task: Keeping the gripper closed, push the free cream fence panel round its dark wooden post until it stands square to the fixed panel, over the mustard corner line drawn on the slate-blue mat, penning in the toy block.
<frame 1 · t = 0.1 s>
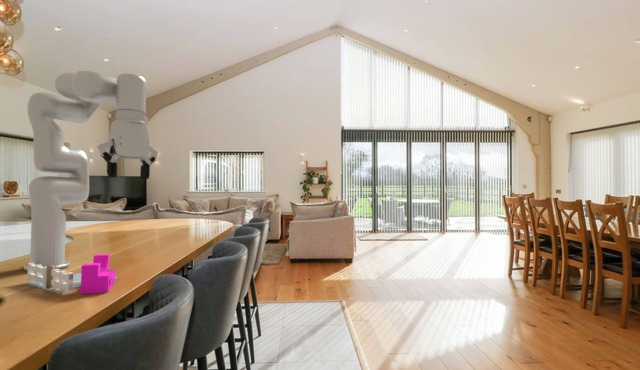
hand: (129, 178, 100), 31 cm above the kitchen island, tool pointing down, fingers open, 9 cm apart
swing panel: (38, 273, 100), point 3 cm above the kitchen island, hinge at 0.0°
toy block: (100, 286, 100), on the kitchen island, touching layout mat
fixed panel and post: (50, 288, 97), on the kitchen island
layout mat: (74, 281, 105), on the kitchen island
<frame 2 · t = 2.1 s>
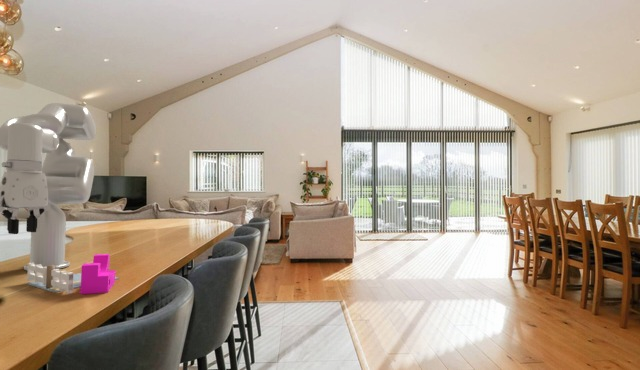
hand: (22, 232, 99), 15 cm above the kitchen island, tool pointing down, fingers open, 3 cm apart
nothing on the kitchen island moved.
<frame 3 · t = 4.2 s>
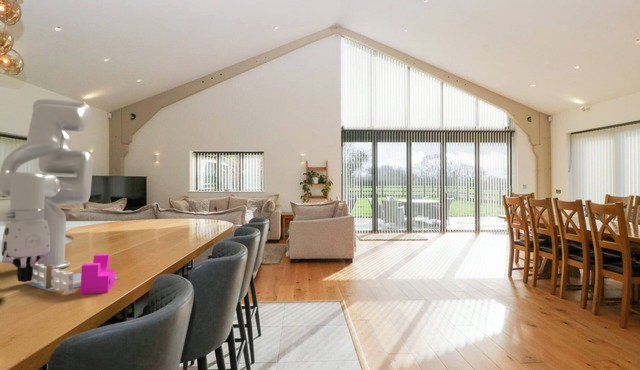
hand: (24, 280, 99), 1 cm above the kitchen island, tool pointing down, fingers closed
swing panel: (40, 273, 101), point 3 cm above the kitchen island, hinge at -4.8°, touching gripper
everything else where it was.
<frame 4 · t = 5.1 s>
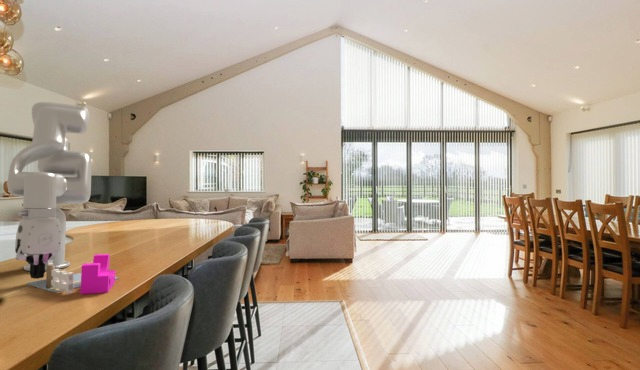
hand: (37, 277, 102), 2 cm above the kitchen island, tool pointing down, fingers closed
swing panel: (50, 272, 102), point 3 cm above the kitchen island, hinge at -22.9°, touching gripper
everything else where it was.
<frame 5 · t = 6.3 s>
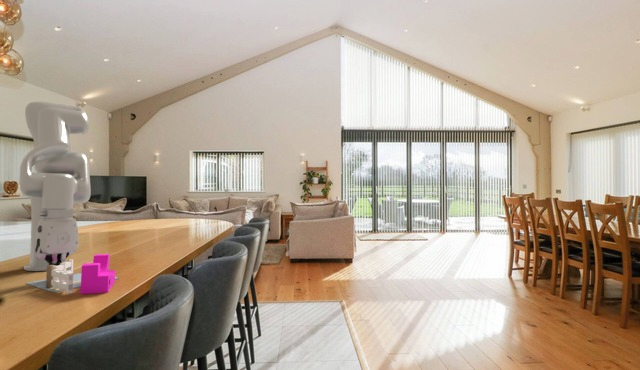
hand: (55, 275, 105), 2 cm above the kitchen island, tool pointing down, fingers closed
swing panel: (62, 271, 104), point 3 cm above the kitchen island, hinge at -48.2°, touching gripper
everything else where it was.
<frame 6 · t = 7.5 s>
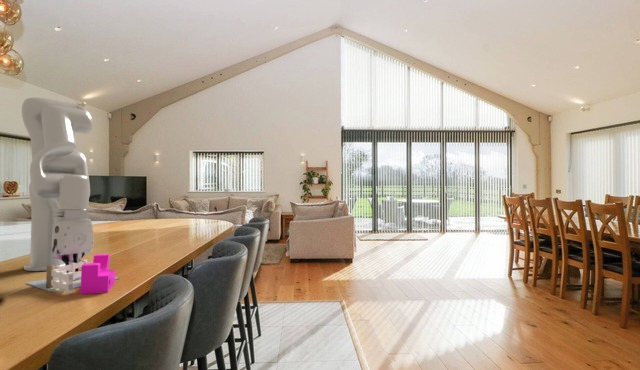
hand: (71, 275, 106), 1 cm above the kitchen island, tool pointing down, fingers closed
swing panel: (71, 271, 104), point 3 cm above the kitchen island, hinge at -69.8°, touching gripper
everything else where it was.
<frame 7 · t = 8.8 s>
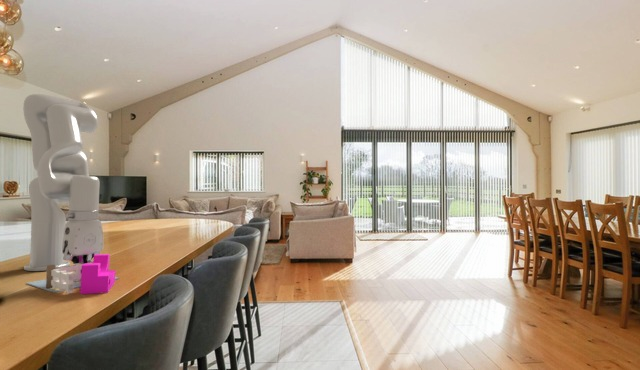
hand: (81, 276, 106), 1 cm above the kitchen island, tool pointing down, fingers closed
swing panel: (77, 272, 103), point 3 cm above the kitchen island, hinge at -88.0°, touching gripper
everything else where it was.
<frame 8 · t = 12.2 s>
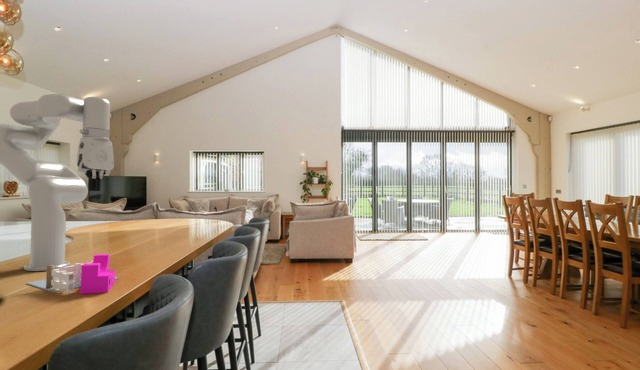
hand: (94, 190, 116), 27 cm above the kitchen island, tool pointing down, fingers closed
swing panel: (77, 272, 103), point 3 cm above the kitchen island, hinge at -88.0°
everything else where it was.
at the end: swing panel at -88° (first picture: +0°); toy block moved 0.0 cm from its start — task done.
